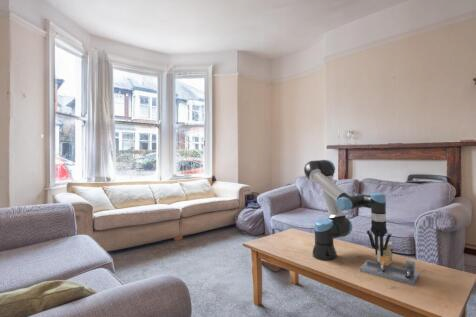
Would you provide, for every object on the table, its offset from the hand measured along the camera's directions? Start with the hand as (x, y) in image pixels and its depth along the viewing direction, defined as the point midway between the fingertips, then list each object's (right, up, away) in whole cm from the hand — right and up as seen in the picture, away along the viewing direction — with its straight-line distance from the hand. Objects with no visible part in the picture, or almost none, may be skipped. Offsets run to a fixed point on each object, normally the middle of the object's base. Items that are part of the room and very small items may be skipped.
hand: (379, 260), depth 152 cm
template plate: (+2, -5, -5) cm, 7 cm away
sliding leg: (+1, -3, -3) cm, 4 cm away
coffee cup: (+8, -5, +10) cm, 14 cm away
